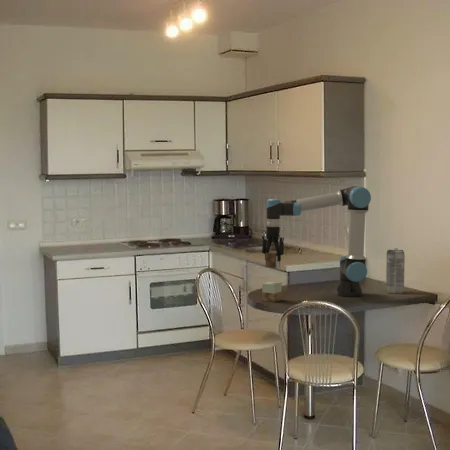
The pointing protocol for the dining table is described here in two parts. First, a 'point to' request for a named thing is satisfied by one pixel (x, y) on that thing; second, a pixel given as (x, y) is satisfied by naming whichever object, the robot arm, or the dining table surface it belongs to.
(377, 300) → the dining table surface
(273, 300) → the tower base
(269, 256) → the block
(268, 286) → the tower top
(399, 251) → the juice carton
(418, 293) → the dining table surface
